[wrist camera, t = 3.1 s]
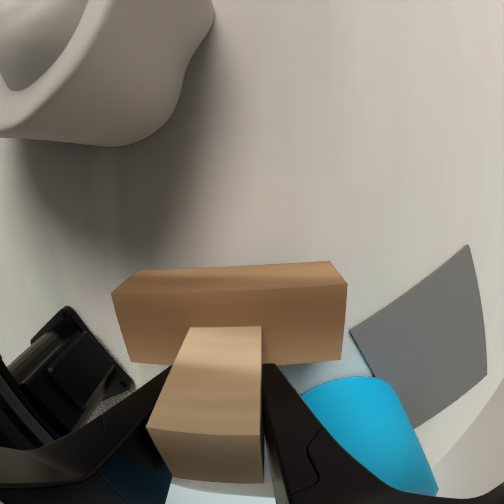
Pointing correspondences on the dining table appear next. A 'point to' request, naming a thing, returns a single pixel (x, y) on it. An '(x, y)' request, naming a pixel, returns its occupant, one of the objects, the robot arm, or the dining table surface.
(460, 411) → the dining table surface
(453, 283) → the charcoal mat
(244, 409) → the wooden t-shaped block
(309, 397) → the mug
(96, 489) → the robot arm
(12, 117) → the lumpy-topped squat cylinder
